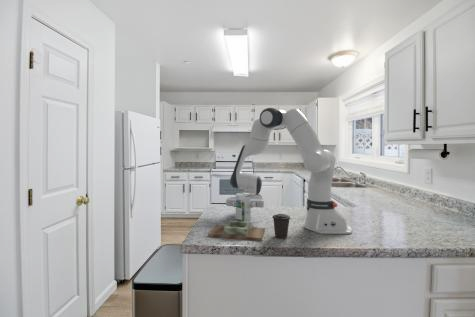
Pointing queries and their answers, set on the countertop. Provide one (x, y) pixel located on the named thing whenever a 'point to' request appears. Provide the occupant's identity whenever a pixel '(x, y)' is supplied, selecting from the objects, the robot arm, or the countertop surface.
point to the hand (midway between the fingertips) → (242, 205)
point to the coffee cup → (281, 225)
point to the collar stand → (237, 231)
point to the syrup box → (243, 207)
